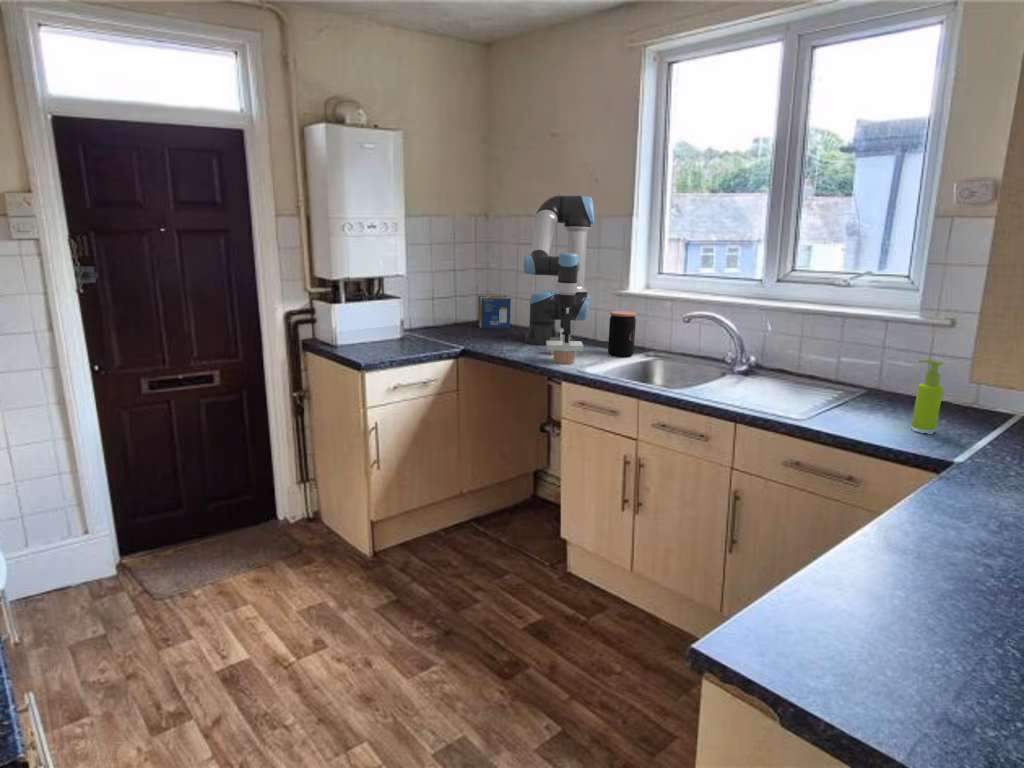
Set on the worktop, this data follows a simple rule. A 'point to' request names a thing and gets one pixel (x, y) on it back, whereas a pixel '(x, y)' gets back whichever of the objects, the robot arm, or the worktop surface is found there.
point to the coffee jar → (621, 333)
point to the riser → (556, 340)
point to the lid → (558, 344)
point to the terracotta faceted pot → (564, 357)
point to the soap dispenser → (928, 399)
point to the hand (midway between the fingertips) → (564, 347)
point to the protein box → (494, 311)
